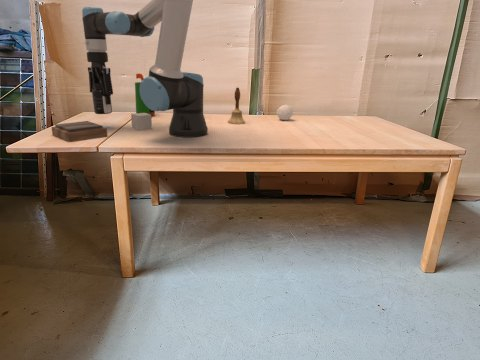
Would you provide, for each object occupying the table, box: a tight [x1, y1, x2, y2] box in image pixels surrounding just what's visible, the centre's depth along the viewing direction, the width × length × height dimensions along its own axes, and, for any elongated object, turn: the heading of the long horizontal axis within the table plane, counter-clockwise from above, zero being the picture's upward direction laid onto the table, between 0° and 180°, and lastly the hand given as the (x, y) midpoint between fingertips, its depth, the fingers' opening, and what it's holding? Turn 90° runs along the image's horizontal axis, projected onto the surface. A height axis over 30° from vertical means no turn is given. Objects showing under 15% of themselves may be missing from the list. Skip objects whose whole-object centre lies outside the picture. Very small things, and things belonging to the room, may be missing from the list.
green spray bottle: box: [134, 73, 156, 118], centre depth 179 cm, size 10×9×20 cm
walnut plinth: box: [51, 120, 108, 143], centre depth 135 cm, size 14×14×4 cm
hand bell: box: [227, 87, 246, 125], centre depth 170 cm, size 8×8×16 cm
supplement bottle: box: [91, 82, 113, 115], centre depth 147 cm, size 7×7×12 cm
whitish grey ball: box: [276, 104, 294, 121], centre depth 182 cm, size 8×8×8 cm
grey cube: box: [130, 112, 153, 131], centre depth 151 cm, size 6×6×6 cm
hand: (103, 111), depth 149 cm, fingers closed on supplement bottle, 7 cm apart
